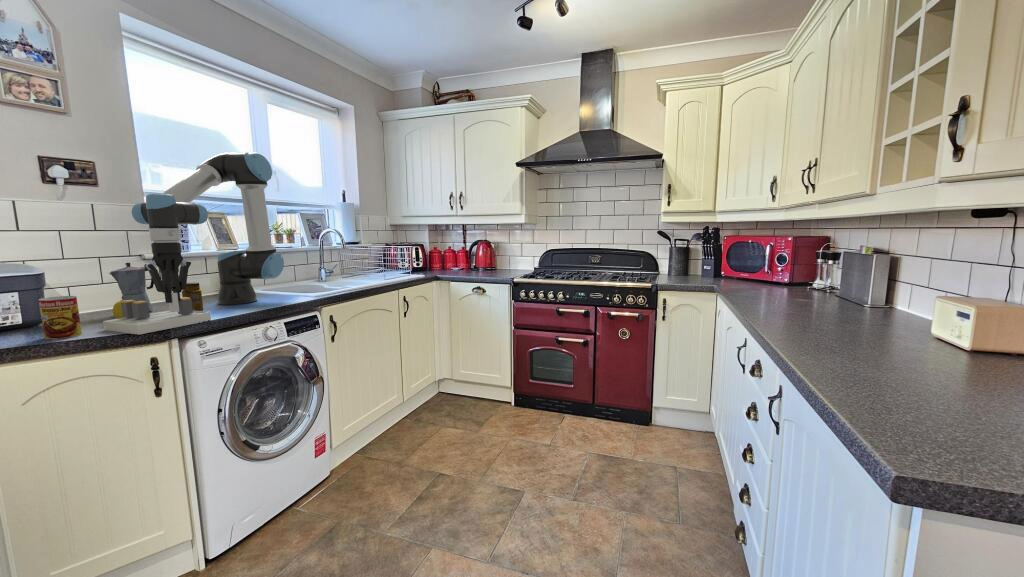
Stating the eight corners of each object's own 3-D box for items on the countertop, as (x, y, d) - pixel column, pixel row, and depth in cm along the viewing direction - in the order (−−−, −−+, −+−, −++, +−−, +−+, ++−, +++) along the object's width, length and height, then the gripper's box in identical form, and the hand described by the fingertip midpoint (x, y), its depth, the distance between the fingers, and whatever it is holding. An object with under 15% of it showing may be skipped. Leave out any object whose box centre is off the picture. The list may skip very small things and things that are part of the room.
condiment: (204, 311, 167) (201, 281, 166) (206, 314, 161) (202, 283, 159) (181, 313, 163) (178, 283, 161) (182, 317, 156) (178, 285, 155)
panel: (178, 317, 156) (177, 308, 155) (211, 320, 150) (210, 311, 149) (104, 330, 135) (103, 320, 135) (138, 334, 129) (137, 324, 129)
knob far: (133, 315, 141) (131, 299, 141) (138, 316, 140) (136, 300, 140) (122, 317, 139) (120, 300, 138) (128, 317, 138) (125, 301, 137)
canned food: (41, 341, 122) (34, 300, 121) (49, 335, 129) (42, 297, 127) (78, 336, 127) (72, 298, 125) (84, 332, 133) (79, 295, 132)
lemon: (119, 321, 150) (116, 299, 148) (138, 319, 151) (135, 298, 150) (110, 324, 144) (107, 301, 143) (131, 322, 146) (127, 300, 145)
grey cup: (144, 316, 139) (142, 300, 139) (150, 317, 138) (148, 301, 138) (133, 318, 137) (131, 301, 136) (139, 319, 135) (137, 302, 135)
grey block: (187, 312, 146) (185, 297, 145) (193, 312, 145) (191, 297, 144) (178, 314, 143) (176, 298, 143) (183, 314, 142) (181, 298, 142)
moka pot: (107, 315, 160) (99, 263, 157) (150, 308, 174) (144, 260, 172) (125, 316, 157) (118, 263, 155) (168, 309, 172) (161, 260, 169)
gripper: (150, 242, 130) (159, 316, 134) (194, 241, 142) (201, 309, 146) (135, 242, 133) (145, 314, 136) (179, 241, 145) (187, 307, 148)
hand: (174, 311), depth 141 cm, fingers closed
